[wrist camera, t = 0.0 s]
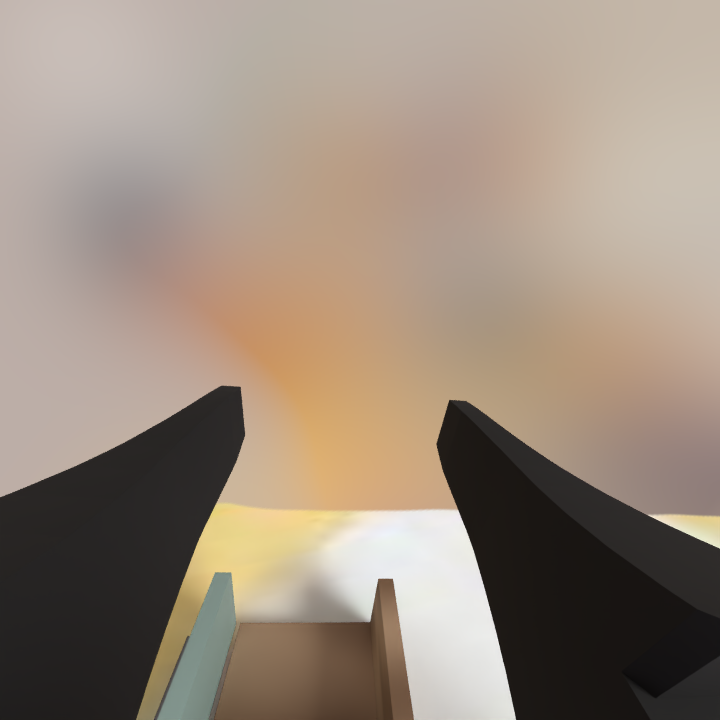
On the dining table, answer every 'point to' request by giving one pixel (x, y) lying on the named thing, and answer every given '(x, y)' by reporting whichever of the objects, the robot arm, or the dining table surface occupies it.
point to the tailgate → (202, 656)
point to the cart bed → (320, 669)
